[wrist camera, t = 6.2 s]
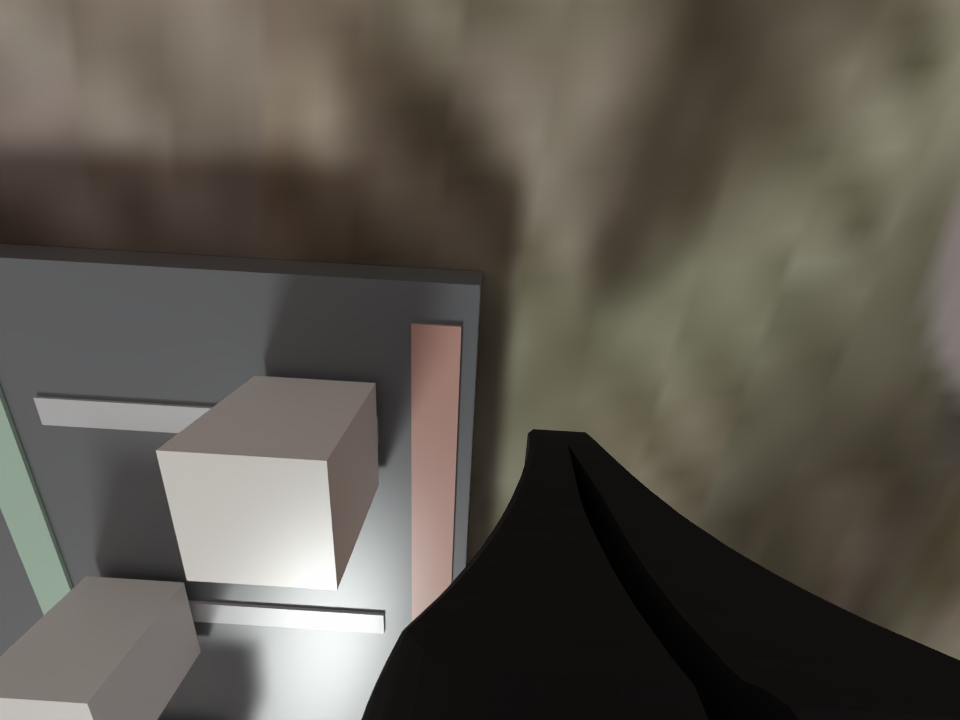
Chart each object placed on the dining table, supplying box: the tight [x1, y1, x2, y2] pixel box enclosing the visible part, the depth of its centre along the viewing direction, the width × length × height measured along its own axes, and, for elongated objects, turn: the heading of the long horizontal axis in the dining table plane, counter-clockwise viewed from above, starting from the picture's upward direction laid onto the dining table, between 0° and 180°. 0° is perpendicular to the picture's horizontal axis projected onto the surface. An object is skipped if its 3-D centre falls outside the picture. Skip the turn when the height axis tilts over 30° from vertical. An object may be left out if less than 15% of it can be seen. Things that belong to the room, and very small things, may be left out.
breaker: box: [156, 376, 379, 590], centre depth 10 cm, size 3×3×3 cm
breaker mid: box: [0, 576, 201, 720], centre depth 12 cm, size 3×3×3 cm
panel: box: [0, 244, 482, 720], centre depth 15 cm, size 18×22×2 cm
